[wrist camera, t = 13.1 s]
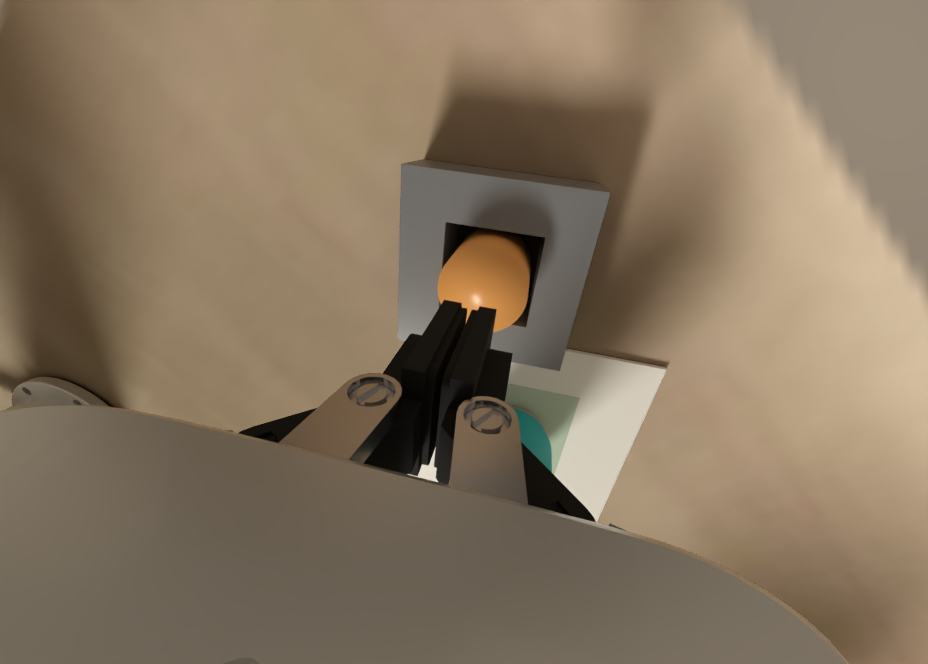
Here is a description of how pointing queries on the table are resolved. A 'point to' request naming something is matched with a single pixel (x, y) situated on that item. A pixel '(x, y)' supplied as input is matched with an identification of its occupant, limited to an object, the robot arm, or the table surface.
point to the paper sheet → (584, 417)
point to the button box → (506, 209)
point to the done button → (488, 275)
